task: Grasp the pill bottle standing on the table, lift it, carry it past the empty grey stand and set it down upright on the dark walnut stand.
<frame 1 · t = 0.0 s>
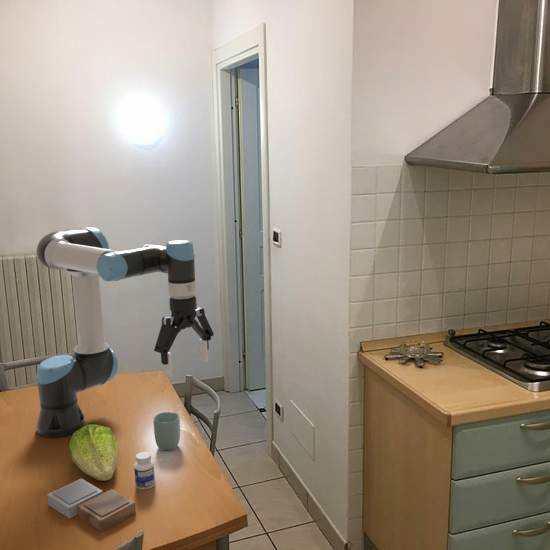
hand: (186, 367, 181), 28 cm above the table, fingers open, 13 cm apart
cup: (168, 448, 193), on the table
stand A: (76, 503, 164), on the table
lettuce: (98, 469, 182), on the table
pill bottle: (145, 485, 172), on the table
stand B: (107, 514, 159), on the table
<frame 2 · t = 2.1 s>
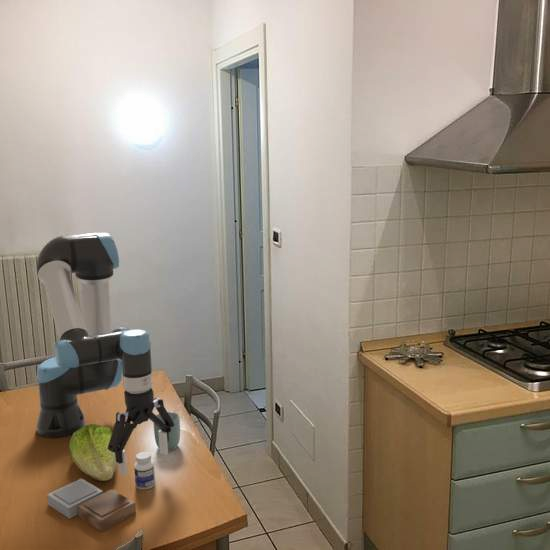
hand: (144, 463, 171), 7 cm above the table, fingers open, 13 cm apart
nothing on the table moved.
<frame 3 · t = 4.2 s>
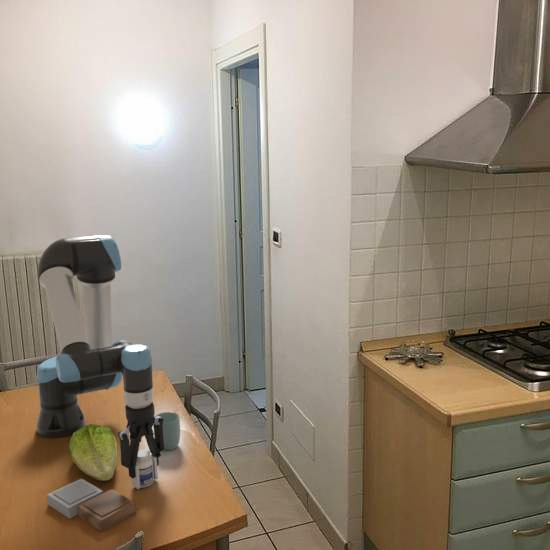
hand: (145, 482, 172), 1 cm above the table, fingers closed on pill bottle, 5 cm apart
pill bottle: (144, 483, 173), on the table, touching gripper
everything else where it was.
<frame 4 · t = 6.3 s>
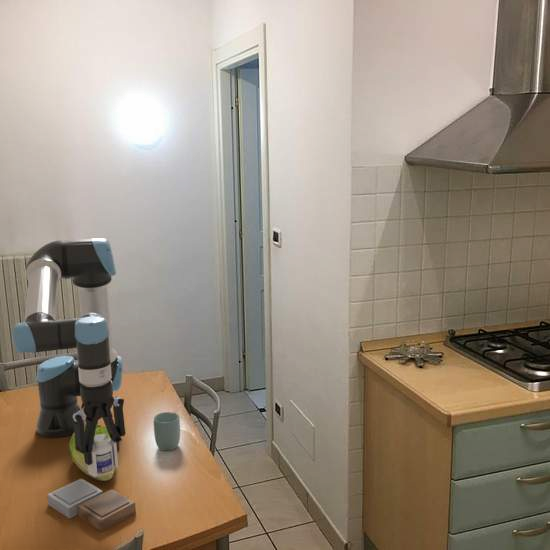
hand: (103, 469, 156), 12 cm above the table, fingers closed on pill bottle, 5 cm apart
pill bottle: (103, 471, 156), point 12 cm above the table, touching gripper
everything else where it was.
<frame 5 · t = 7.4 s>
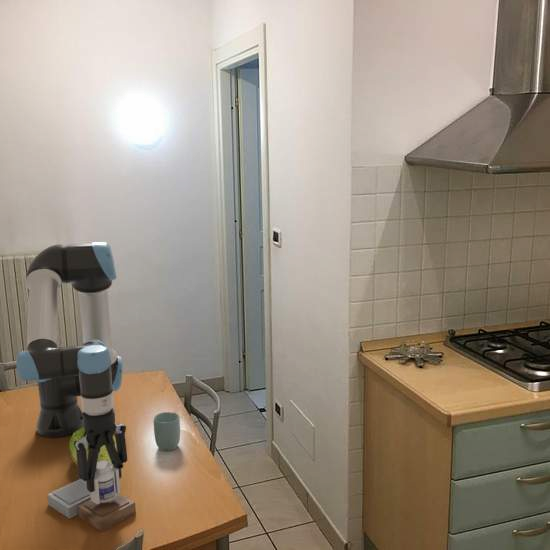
hand: (105, 496, 157), 5 cm above the table, fingers closed on pill bottle, 5 cm apart
pill bottle: (105, 497, 158), point 5 cm above the table, touching gripper
everything else where it was.
when the fingers open (4 cm above the table, at t = 8.3 s): pill bottle stays where it is, resting on stand B.
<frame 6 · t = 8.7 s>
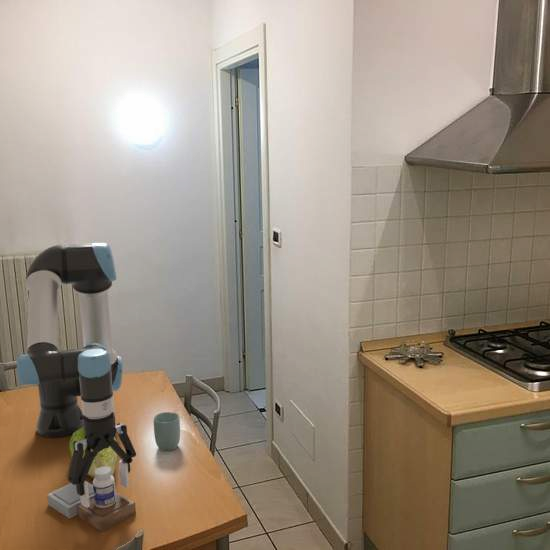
hand: (105, 495, 157), 5 cm above the table, fingers open, 11 cm apart
pill bottle: (105, 503, 158), point 3 cm above the table, touching stand B
everything else where it was.
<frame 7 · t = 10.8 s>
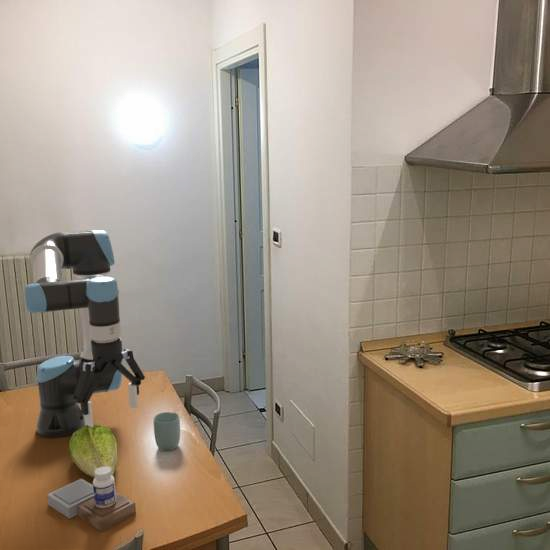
hand: (112, 416, 164), 22 cm above the table, fingers open, 13 cm apart
nothing on the table moved.
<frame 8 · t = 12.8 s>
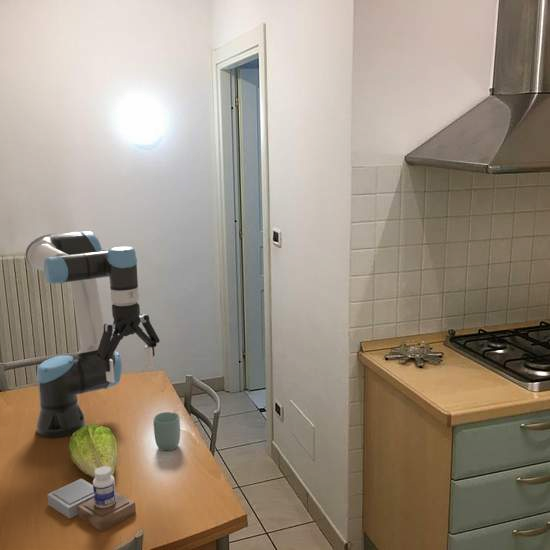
hand: (130, 374, 180), 27 cm above the table, fingers open, 13 cm apart
nothing on the table moved.
at the end: pill bottle 0.3 cm from the stand B (horizontally); pill bottle touching stand B; pill bottle tilted 0° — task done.
